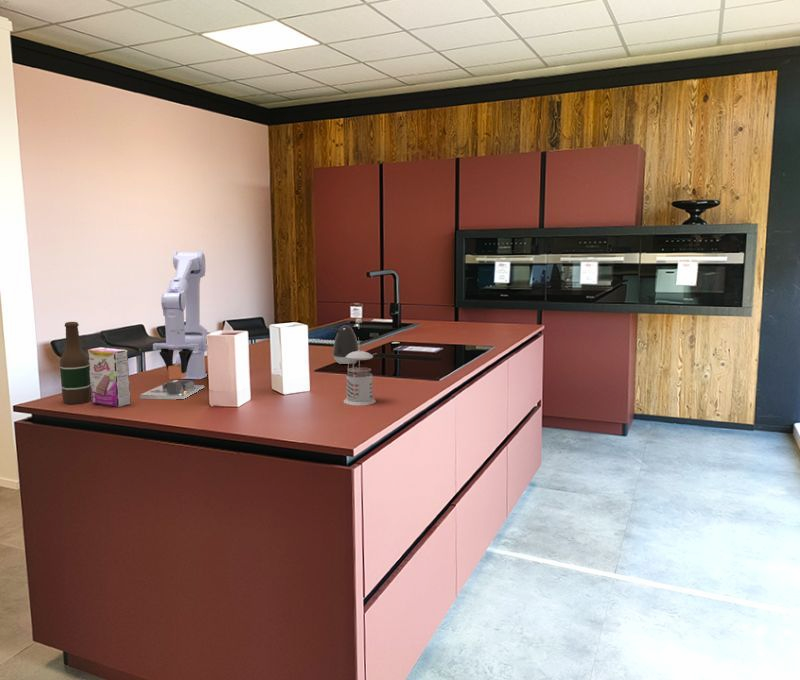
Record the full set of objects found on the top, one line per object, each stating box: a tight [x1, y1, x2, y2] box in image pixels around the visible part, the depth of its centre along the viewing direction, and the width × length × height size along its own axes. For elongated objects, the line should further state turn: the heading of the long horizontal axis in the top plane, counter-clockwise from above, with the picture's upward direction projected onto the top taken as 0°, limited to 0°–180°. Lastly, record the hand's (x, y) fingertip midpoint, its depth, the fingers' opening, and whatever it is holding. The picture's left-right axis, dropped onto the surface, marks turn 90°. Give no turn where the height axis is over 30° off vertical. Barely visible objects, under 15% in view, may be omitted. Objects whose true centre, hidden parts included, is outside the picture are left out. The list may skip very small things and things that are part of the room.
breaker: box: [165, 379, 182, 393], centre depth 202 cm, size 3×4×3 cm
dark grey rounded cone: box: [331, 325, 359, 365], centre depth 256 cm, size 10×10×15 cm
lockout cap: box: [167, 363, 186, 380], centre depth 209 cm, size 4×4×4 cm
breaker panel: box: [139, 379, 205, 400], centre depth 206 cm, size 14×15×3 cm
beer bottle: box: [59, 321, 92, 405], centre depth 194 cm, size 8×8×24 cm
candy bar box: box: [87, 346, 132, 408], centre depth 192 cm, size 11×5×16 cm, turn 65°
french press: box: [343, 318, 377, 406], centre depth 194 cm, size 10×12×25 cm
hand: (177, 372), depth 209 cm, fingers closed on lockout cap, 4 cm apart
